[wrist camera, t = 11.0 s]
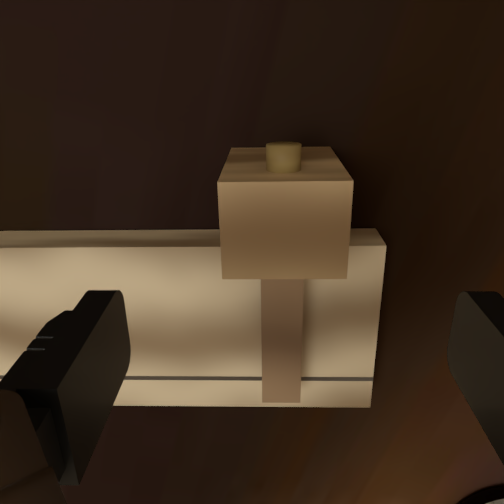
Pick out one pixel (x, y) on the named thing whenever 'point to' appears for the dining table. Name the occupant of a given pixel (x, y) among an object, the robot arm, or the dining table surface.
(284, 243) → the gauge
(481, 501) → the ink bottle
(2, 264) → the board
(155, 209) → the dining table surface
